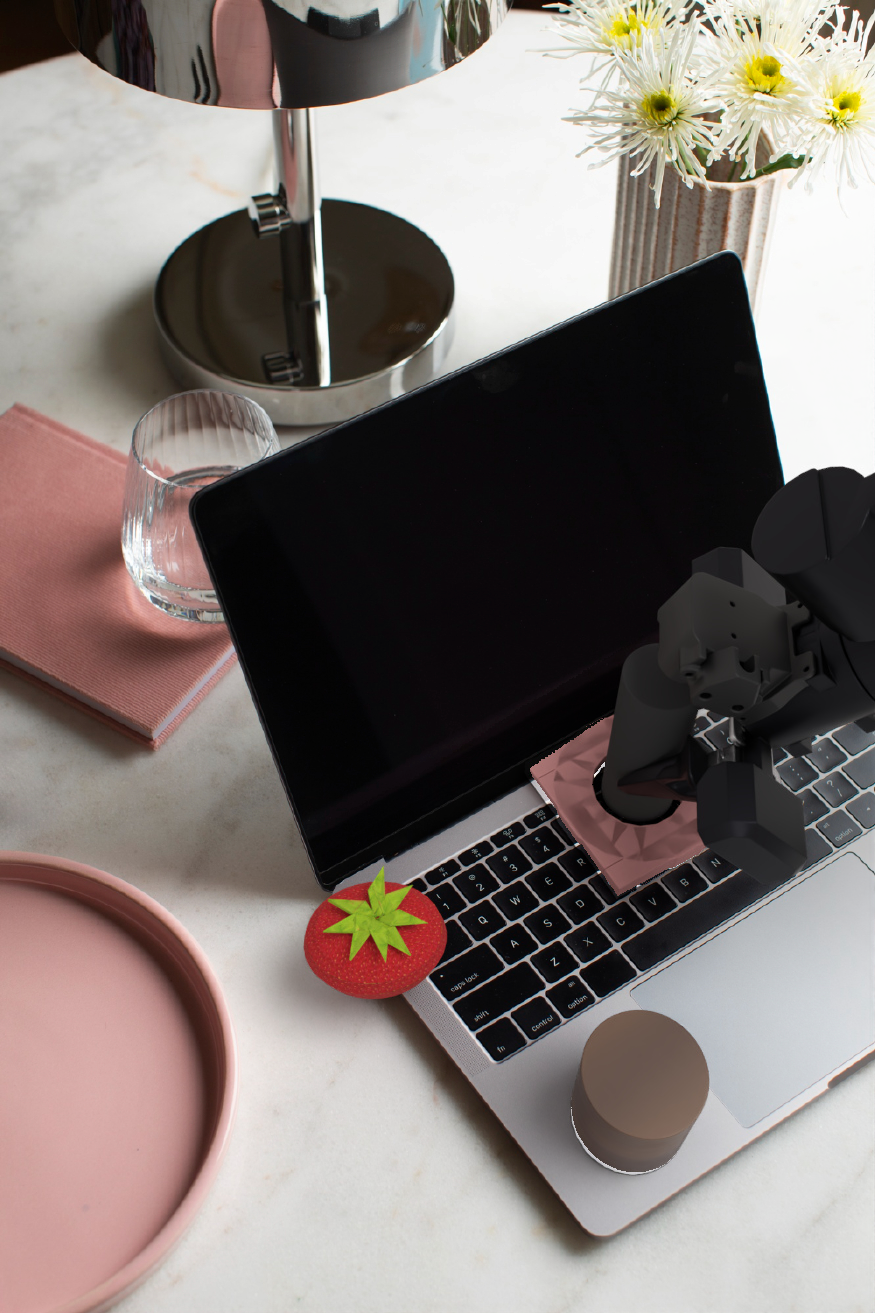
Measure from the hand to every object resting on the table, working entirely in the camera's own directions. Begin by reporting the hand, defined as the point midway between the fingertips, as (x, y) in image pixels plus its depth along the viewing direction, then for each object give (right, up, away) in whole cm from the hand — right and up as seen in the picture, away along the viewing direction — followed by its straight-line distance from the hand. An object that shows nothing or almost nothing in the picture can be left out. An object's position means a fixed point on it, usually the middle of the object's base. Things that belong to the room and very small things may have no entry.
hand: (622, 753), depth 66 cm
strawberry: (-14, -12, -3) cm, 19 cm away
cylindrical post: (+1, -3, +3) cm, 4 cm away
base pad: (+1, -3, +4) cm, 5 cm away
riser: (-1, -18, -7) cm, 20 cm away
